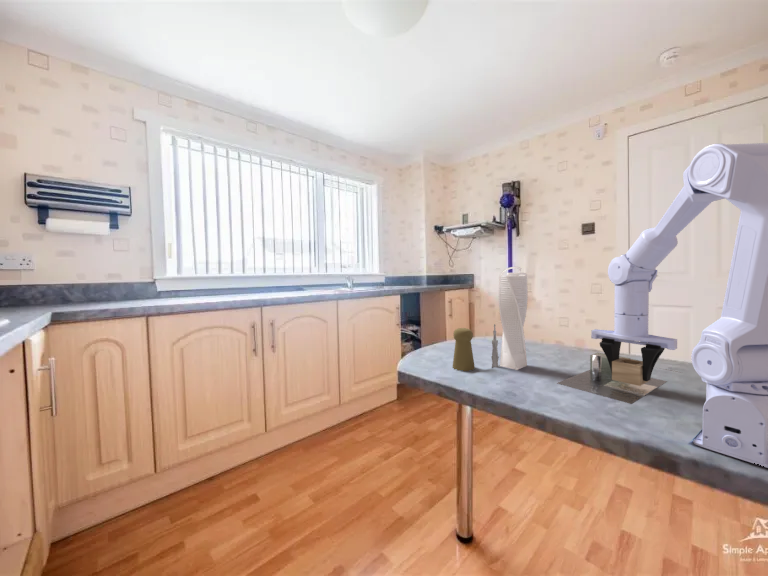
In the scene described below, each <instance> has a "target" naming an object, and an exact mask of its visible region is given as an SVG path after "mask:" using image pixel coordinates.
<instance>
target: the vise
mask: <svg viewBox="0 0 768 576" xmlns="http://www.w3.org/2000/svg"><path fill="white" fill-rule="evenodd" d="M589 356H590V359H589V361H590V363H589V369H588V370H585V371H584V372H580V373H578V374H576V375H572V376H571V377H568V378H565V379H564V380H561V381H559V382H556V384H558V385H561V386H564V387H568V388H572V389H575V390H578V391H581V392H586V393H590V394H593V395H597V396H601V397H605V398H607V399H612V400H615V401H619V402H622V403H626V404H629V405H632V404H634V403H635V402H637V401H638V400H640V399H641V398H643V397H645V396H646V395H648V394H649V393H651V392H653V391H654V390H656V389H657V388H659V387H661V386H662V385H664V384H666V383H667V382H668V381H667V380H662V379H657V378H653V377H651V378H650V380H649V381H648V382H647V383H645V384H643V385H641V386H637V385H633V384H629V383H625V382H620V381H616V380H612V373H611V369H610V365H609V362H608V359H607V357H606V355H605V353H604V352H595V353H593V354H590V355H589ZM619 358H627V359H632V358H631V357H625V356H620V355H619Z"/></svg>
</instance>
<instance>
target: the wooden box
mask: <svg viewBox="0 0 768 576" xmlns="http://www.w3.org/2000/svg"><path fill="white" fill-rule="evenodd" d="M627 358H628V357H626V358H619V359H617V360H614V361H612V380H616V381H620V382H625V383H629V384H633V385H637V386H641V385H643V384H645V383H647V382H648V381H643V376H642V372H643V360H638V359H633V358H631V359H627Z"/></svg>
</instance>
